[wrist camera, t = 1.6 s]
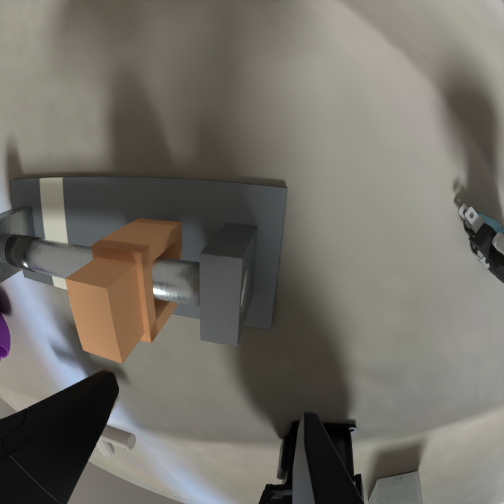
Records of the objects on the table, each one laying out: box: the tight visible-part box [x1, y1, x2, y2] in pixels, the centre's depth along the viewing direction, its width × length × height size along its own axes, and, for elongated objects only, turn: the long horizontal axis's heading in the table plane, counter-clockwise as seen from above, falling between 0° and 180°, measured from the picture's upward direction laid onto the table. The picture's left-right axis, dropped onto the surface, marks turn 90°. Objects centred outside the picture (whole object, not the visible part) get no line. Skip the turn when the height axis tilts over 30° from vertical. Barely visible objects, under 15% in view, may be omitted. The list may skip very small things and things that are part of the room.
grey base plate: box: [10, 177, 287, 330], centre depth 21 cm, size 25×10×1 cm, turn 86°
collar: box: [65, 218, 182, 363], centre depth 15 cm, size 3×5×8 cm, turn 176°
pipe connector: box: [96, 397, 136, 457], centre depth 24 cm, size 10×10×10 cm
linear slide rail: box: [0, 206, 258, 346], centre depth 18 cm, size 22×5×5 cm, turn 86°
